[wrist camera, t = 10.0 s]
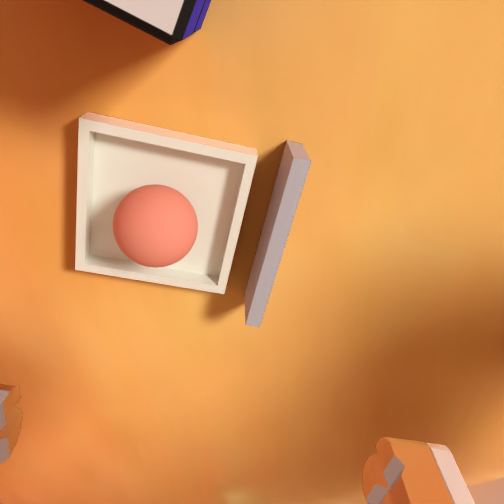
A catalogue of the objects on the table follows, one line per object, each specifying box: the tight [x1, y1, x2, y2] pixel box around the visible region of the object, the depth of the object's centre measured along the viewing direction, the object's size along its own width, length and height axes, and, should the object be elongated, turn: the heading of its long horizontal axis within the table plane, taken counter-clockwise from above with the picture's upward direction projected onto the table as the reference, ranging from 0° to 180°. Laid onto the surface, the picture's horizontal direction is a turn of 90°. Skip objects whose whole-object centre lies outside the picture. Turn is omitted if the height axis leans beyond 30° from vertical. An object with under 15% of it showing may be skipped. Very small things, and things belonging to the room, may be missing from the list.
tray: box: [75, 112, 258, 294], centre depth 27 cm, size 10×10×2 cm
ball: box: [113, 184, 198, 268], centre depth 25 cm, size 5×5×5 cm
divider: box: [244, 141, 311, 327], centre depth 27 cm, size 1×12×4 cm, turn 167°
